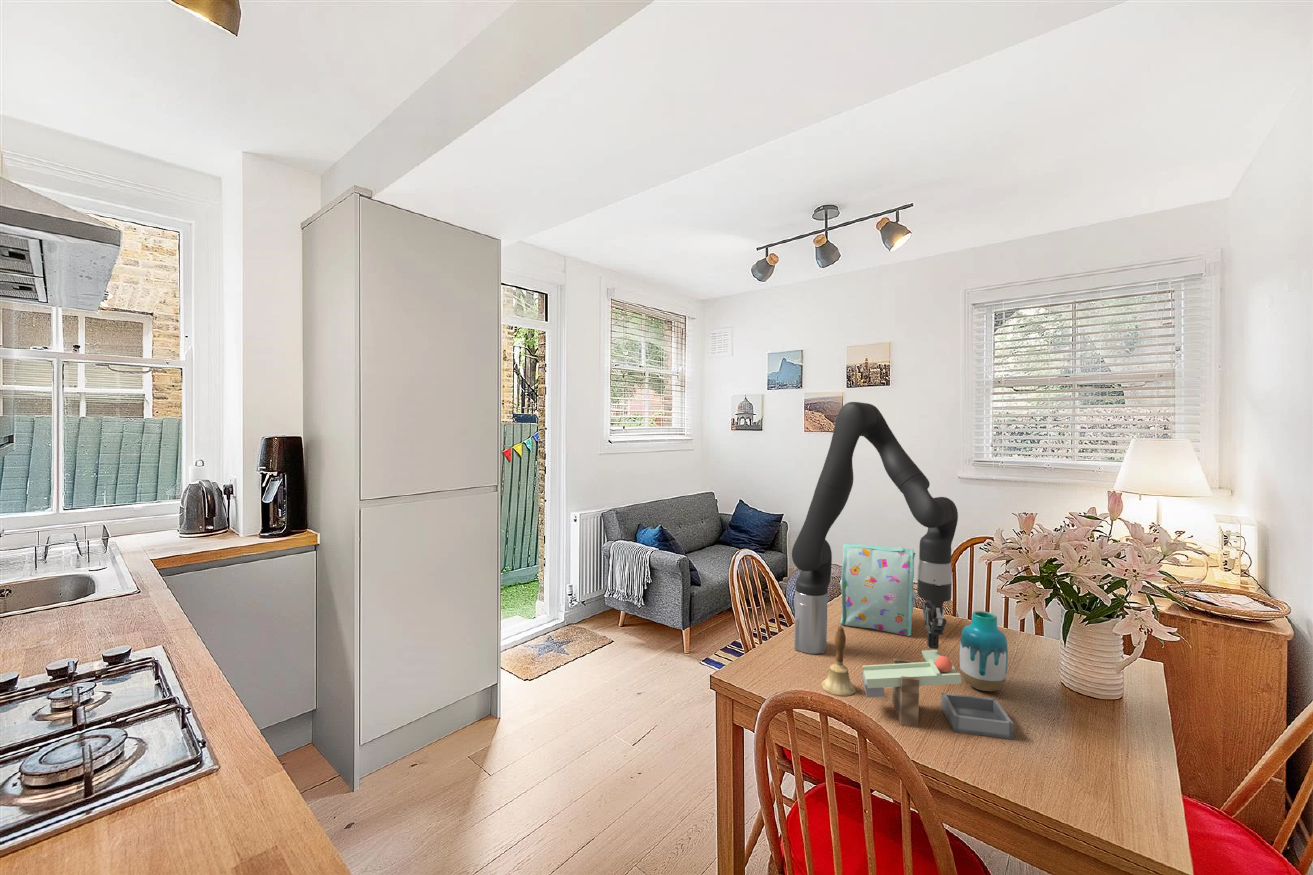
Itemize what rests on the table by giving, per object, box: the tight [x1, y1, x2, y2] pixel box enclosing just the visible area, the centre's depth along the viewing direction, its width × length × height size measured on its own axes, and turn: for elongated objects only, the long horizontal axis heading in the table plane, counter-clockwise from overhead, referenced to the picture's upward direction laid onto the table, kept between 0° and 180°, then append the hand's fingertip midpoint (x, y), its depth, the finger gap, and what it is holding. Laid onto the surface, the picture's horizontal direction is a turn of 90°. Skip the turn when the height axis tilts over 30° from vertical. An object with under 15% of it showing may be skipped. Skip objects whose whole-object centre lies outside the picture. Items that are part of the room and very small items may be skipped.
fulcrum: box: [891, 658, 920, 728], centre depth 129 cm, size 4×10×11 cm, turn 167°
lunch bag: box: [839, 543, 916, 637], centre depth 183 cm, size 23×16×27 cm
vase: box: [959, 610, 1009, 692], centre depth 141 cm, size 11×11×19 cm
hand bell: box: [821, 626, 856, 697], centre depth 141 cm, size 8×8×16 cm
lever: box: [861, 649, 963, 698], centre depth 133 cm, size 20×16×5 cm
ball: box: [935, 655, 954, 672], centre depth 127 cm, size 4×4×4 cm
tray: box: [940, 692, 1015, 740], centre depth 126 cm, size 12×11×4 cm
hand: (932, 647), depth 137 cm, fingers closed
